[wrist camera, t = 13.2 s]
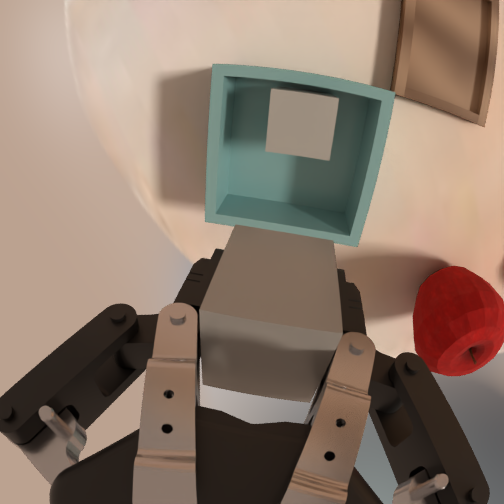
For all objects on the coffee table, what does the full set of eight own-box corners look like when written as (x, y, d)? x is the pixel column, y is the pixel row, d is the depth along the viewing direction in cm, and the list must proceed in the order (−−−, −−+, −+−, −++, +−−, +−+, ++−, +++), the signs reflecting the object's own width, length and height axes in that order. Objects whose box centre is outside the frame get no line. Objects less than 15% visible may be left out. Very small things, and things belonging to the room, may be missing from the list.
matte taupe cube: (277, 86, 20) (271, 88, 16) (331, 93, 20) (339, 98, 16) (272, 135, 22) (265, 151, 18) (324, 143, 22) (329, 160, 18)
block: (235, 224, 12) (199, 309, 8) (333, 240, 12) (343, 333, 8) (230, 297, 15) (202, 384, 11) (312, 311, 14) (309, 402, 10)
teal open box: (228, 65, 20) (212, 63, 17) (379, 88, 19) (395, 92, 16) (219, 198, 27) (204, 221, 23) (350, 219, 26) (357, 247, 22)
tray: (403, -41, 12) (407, -45, 11) (492, 0, 12) (498, -2, 11) (389, 92, 19) (394, 93, 18) (477, 124, 19) (484, 127, 18)
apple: (382, 298, 30) (400, 385, 21) (441, 229, 25) (489, 308, 16) (439, 327, 31) (462, 403, 22) (493, 271, 26) (535, 343, 17)
